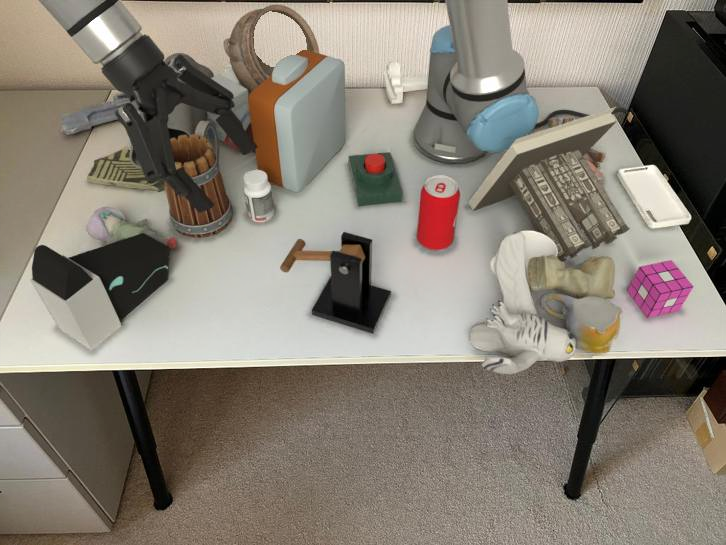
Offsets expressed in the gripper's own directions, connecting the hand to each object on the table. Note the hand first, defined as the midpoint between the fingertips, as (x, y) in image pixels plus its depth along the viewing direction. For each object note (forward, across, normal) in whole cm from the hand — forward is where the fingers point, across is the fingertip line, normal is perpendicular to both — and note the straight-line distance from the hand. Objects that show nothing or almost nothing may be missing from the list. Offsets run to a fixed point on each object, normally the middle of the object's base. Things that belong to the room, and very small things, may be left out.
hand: (230, 178), depth 89 cm
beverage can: (+31, -16, +12) cm, 37 cm away
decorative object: (+6, +13, -23) cm, 27 cm away
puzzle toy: (+51, -14, +42) cm, 67 cm away
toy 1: (+7, +2, -20) cm, 21 cm away
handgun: (-17, -37, -52) cm, 66 cm away
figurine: (+42, -45, +29) cm, 68 cm away
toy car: (+1, -47, -31) cm, 56 cm away
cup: (+39, -11, +24) cm, 47 cm away
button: (+19, -27, +3) cm, 33 cm away
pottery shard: (-2, -12, -35) cm, 37 cm away
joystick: (+16, -56, -3) cm, 58 cm away
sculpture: (+44, -13, +37) cm, 59 cm away
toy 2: (+28, +2, +28) cm, 40 cm away
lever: (+17, +2, +7) cm, 18 cm away
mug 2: (+38, -3, +36) cm, 53 cm away
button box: (+22, -27, +1) cm, 35 cm away
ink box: (+5, -31, -25) cm, 40 cm away
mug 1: (+8, -10, -20) cm, 24 cm away
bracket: (+26, +2, +5) cm, 26 cm away
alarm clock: (+14, -28, -11) cm, 33 cm away
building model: (+30, -31, +29) cm, 52 cm away
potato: (+9, -28, -14) cm, 33 cm away
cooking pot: (-2, -50, -26) cm, 56 cm away
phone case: (+52, -32, +44) cm, 75 cm away
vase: (-8, -43, -35) cm, 56 cm away
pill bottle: (+13, -12, -13) cm, 22 cm away
